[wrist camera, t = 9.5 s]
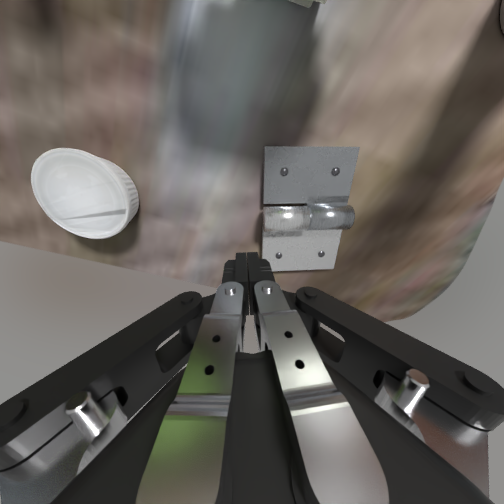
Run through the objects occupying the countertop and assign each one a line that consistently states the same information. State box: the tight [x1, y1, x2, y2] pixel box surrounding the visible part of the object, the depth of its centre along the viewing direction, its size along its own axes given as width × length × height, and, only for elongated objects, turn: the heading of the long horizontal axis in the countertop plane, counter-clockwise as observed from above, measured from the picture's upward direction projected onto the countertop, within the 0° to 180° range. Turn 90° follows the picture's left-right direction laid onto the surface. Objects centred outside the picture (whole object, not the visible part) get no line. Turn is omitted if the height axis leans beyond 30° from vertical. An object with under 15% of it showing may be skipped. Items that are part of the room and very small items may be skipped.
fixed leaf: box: [263, 146, 360, 231], centre depth 28 cm, size 15×12×4 cm
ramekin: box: [31, 148, 139, 239], centre depth 26 cm, size 11×11×5 cm
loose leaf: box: [262, 206, 342, 271], centre depth 32 cm, size 14×12×4 cm
